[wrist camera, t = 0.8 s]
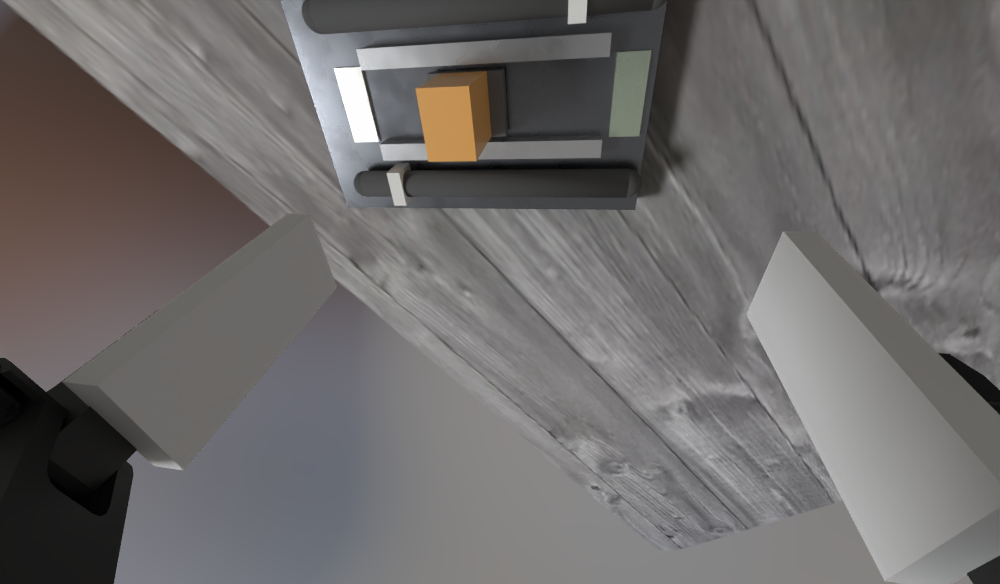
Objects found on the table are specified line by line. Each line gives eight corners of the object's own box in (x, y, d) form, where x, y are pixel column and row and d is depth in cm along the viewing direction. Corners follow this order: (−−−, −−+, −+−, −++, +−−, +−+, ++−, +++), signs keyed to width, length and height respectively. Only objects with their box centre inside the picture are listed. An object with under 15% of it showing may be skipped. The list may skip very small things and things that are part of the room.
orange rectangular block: (430, 71, 26) (398, 89, 21) (504, 67, 25) (487, 85, 20) (440, 133, 28) (412, 161, 24) (508, 132, 28) (493, 160, 23)
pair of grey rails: (307, -10, 25) (285, -10, 23) (673, -44, 21) (682, -48, 19) (366, 193, 33) (353, 205, 31) (636, 193, 29) (640, 207, 27)
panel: (289, -30, 26) (257, -32, 23) (671, -70, 22) (683, -78, 19) (358, 197, 35) (341, 213, 33) (632, 198, 31) (636, 216, 29)
